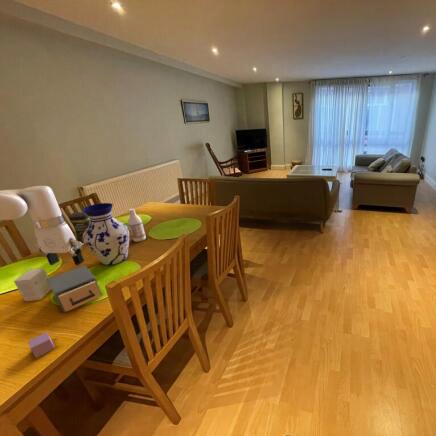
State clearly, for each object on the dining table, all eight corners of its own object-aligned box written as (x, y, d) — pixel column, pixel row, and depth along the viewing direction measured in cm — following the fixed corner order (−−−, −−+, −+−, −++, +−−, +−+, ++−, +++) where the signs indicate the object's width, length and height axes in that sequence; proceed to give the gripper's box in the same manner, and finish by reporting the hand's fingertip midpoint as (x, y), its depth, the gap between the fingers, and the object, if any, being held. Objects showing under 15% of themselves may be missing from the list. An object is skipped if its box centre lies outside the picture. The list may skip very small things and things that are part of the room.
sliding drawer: (105, 301, 97) (99, 286, 94) (68, 318, 89) (61, 302, 86) (91, 283, 108) (85, 270, 105) (57, 297, 99) (50, 283, 97)
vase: (107, 273, 116) (86, 216, 104) (84, 264, 123) (63, 210, 112) (143, 255, 132) (129, 203, 120) (122, 248, 139) (106, 199, 128)
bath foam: (132, 238, 150) (124, 209, 142) (145, 235, 154) (137, 206, 146) (134, 243, 145) (125, 212, 137) (147, 239, 148) (139, 209, 141)
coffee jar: (76, 244, 144) (64, 215, 136) (83, 238, 151) (72, 210, 144) (94, 242, 146) (84, 214, 139) (100, 236, 153) (91, 209, 146)
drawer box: (101, 294, 102) (95, 277, 98) (63, 312, 93) (54, 293, 89) (91, 281, 110) (84, 265, 107) (54, 296, 101) (46, 278, 98)
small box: (39, 289, 105) (29, 269, 101) (54, 287, 106) (44, 268, 102) (24, 302, 98) (12, 281, 94) (40, 300, 99) (29, 279, 95)
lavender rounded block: (36, 358, 75) (30, 348, 73) (33, 350, 77) (28, 341, 76) (55, 348, 78) (49, 339, 76) (52, 341, 81) (46, 332, 79)
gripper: (13, 225, 80) (35, 268, 87) (63, 226, 80) (81, 269, 86) (36, 217, 87) (55, 257, 94) (82, 217, 86) (97, 258, 93)
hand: (67, 263), depth 90 cm, fingers open, 9 cm apart
